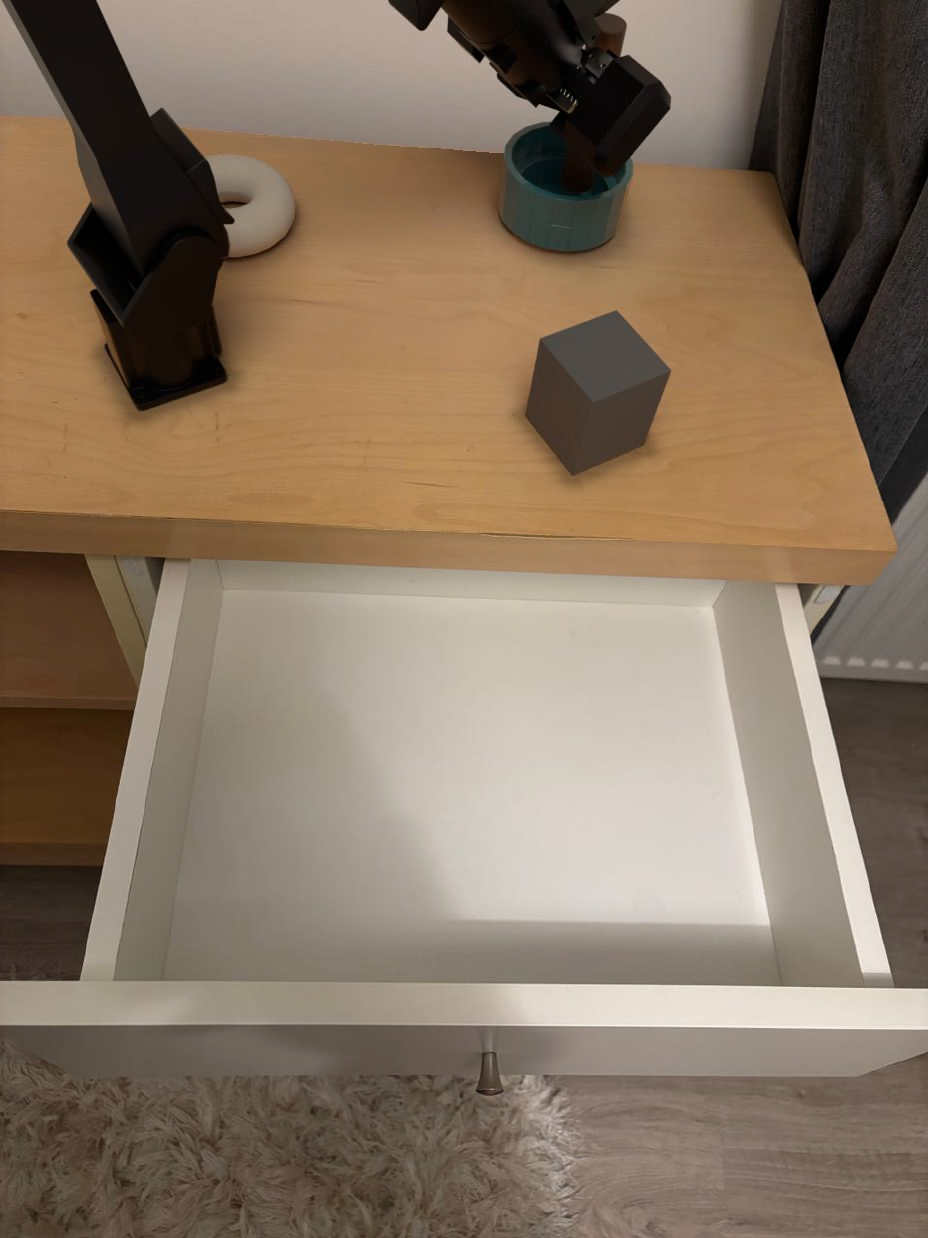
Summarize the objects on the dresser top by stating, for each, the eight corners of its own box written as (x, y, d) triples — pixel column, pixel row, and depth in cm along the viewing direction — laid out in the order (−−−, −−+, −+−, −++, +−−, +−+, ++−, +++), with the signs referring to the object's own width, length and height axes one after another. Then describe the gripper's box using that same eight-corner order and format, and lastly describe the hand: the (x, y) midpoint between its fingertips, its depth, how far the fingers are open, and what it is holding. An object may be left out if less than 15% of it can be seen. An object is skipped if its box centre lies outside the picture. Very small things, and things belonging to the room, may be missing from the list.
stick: (587, 196, 72) (622, 36, 61) (556, 187, 72) (585, 26, 61) (595, 177, 73) (631, 17, 62) (565, 169, 73) (594, 8, 63)
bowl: (540, 271, 70) (550, 215, 66) (474, 197, 74) (480, 138, 70) (642, 236, 73) (658, 179, 69) (574, 166, 77) (585, 108, 73)
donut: (240, 169, 74) (139, 219, 70) (235, 128, 71) (129, 178, 67) (324, 229, 71) (223, 285, 67) (322, 189, 68) (217, 245, 64)
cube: (572, 476, 60) (593, 402, 54) (524, 415, 63) (539, 338, 57) (644, 445, 62) (672, 370, 56) (595, 387, 65) (616, 309, 59)
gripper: (692, -60, 49) (765, 93, 62) (499, -198, 56) (601, -35, 69) (552, 120, 53) (649, 227, 66) (389, -30, 60) (505, 94, 74)
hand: (601, 122), depth 69 cm, fingers closed on stick, 2 cm apart
